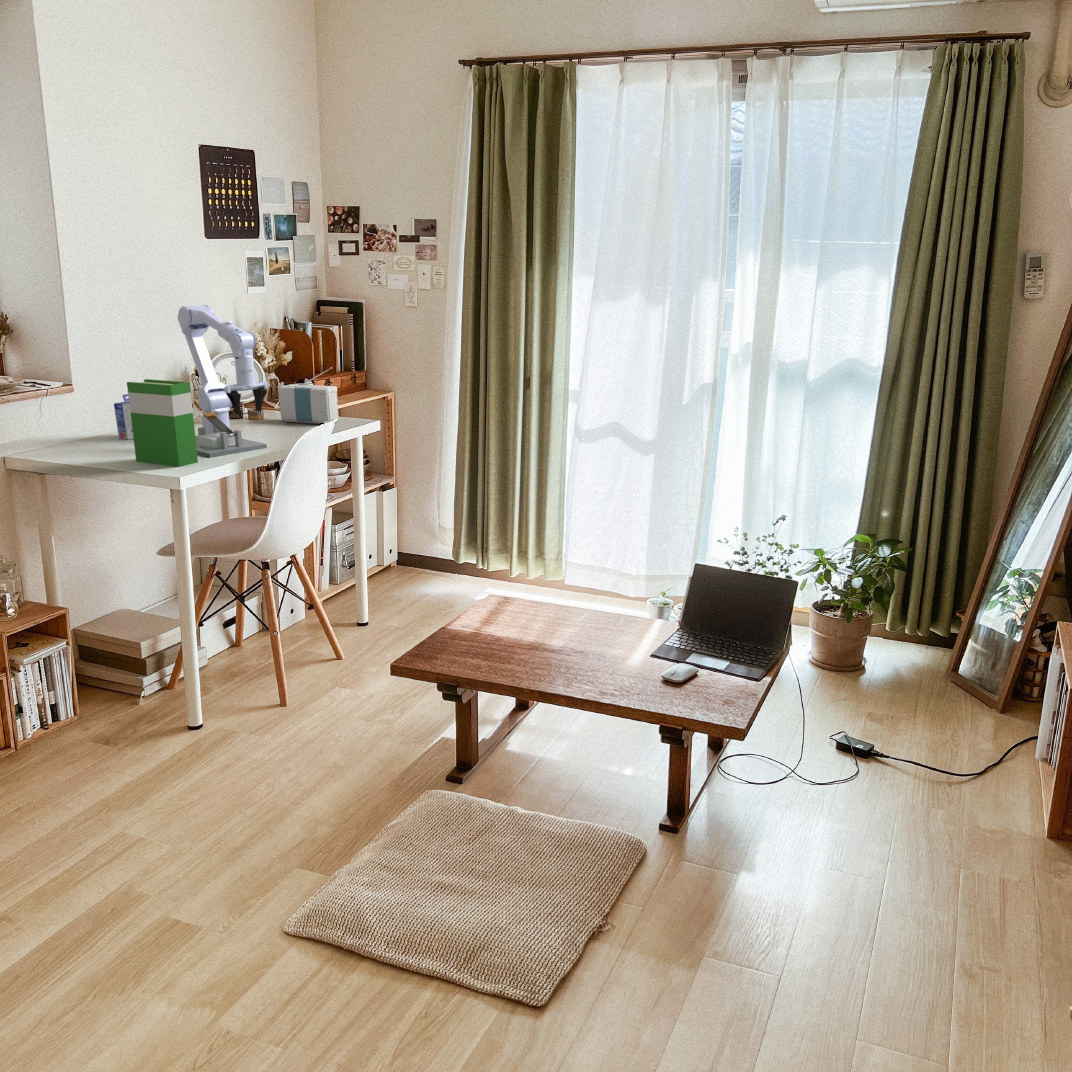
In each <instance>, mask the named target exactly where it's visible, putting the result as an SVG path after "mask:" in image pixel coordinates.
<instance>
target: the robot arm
mask: <svg viewBox="0 0 1072 1072" xmlns="http://www.w3.org/2000/svg"><path fill="white" fill-rule="evenodd" d="M213 309H214V308H212V307H210V306H209V305H208V304H203V305H193V306H192V305H191V306H184V305H183V306H180V307H179V310H178V315H177V321H178V323H179V327H180V329H181V332H182V334H183V335H184V337H185V340H186V342H187V343H186V344H187V345H188V349H189V350H190V353H191V356H192V359H193V363H194V365H195V368H196V371H197V373H198V377H199V379H200V382H201V386H200V388H199V389H198V391H197V397H198V404H199V407H200V408H201V410H202V411H203V413H202V416H201V427H204V428H205V430H206V434H211V433H213V424H212V423H211V422H210V421H209V420H208V419H207V418H205V417H204V416H203V415H204V414H205V413H209V412H214V413H215V414H216V417H217V418H218V419H219V420H221V421H222V422H223V423H224V424H225V425H226V426H227V427H228V428H229V429H230V430H231V426H230V416H229V415H230V413H229V412H230V411H231V408H233V411H234V414H235V415H241V412H242V409H241V399H242V394H241V393H239V392H243V391H252V394H253V398H254V406H255V411H256V412H259V413H260V412H262V409H263V403H264V399H265V397H266V395H267V394H268V390H267V389H268V387H269V386H268V382H267V381H256V379H255V377H256V376H255V363H254V353H253V352H254V351H253V350H254V349H255V348H256V344H257V340H256V337H255V335H254V333H253V332H252V331H249V330H248V331H244V330H242V328H241V327H238V326H236V325H235V324H234V322H233V321H231V320H229V321H227V320H225V321H223V320H222V318H220V317H219V316H217V315H218V314H217V315H216V314H215V313H214V310H213ZM209 328H212V329H213V330H216V331H217V336H219V337H220V338H221V339H222V340H223V341H225V342H227V343H228V344H229V347H230V349H231V352H232V355H233V357H234V366H235V376H236V377H235V379H236V384H230V385H227V384H225V383H223V382H221V381H219V379H218V376H217V373H216V370H215V368H214V365H213V362H212V359H211V356H210V354H209V351H208V348H207V345H206V342H205V340H204V334H206V333H207V332H208V330H209Z"/></svg>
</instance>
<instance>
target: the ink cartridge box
mask: <svg viewBox="0 0 1072 1072" xmlns="http://www.w3.org/2000/svg"><path fill="white" fill-rule="evenodd" d="M121 397H122V399H123V401H121V402H114V403H113V407H114V415H115V420H116V427H117V433H118V439H119V438H121V440H125V439H128V440H132V439H133V440H134V438H133V430H132V422H131V413H130V405H129V397H128V393H127V394H122V396H121ZM126 397H128V398H126Z"/></svg>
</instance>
